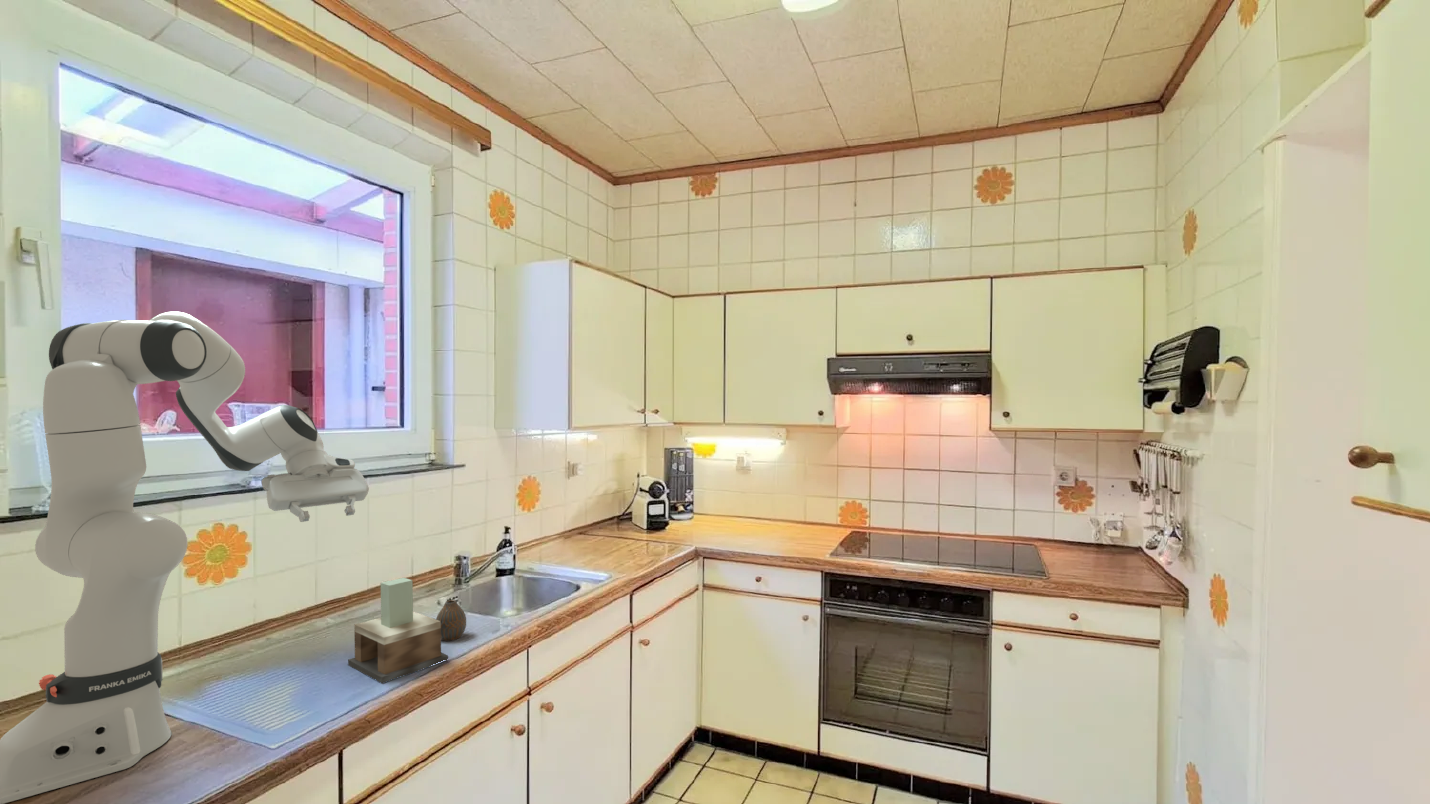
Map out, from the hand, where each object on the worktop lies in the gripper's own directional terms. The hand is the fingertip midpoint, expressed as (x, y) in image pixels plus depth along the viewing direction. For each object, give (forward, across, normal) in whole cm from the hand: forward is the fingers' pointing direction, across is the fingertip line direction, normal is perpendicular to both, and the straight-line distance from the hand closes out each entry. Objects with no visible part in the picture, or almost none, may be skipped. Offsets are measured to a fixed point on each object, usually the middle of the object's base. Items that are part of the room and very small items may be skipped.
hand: (328, 516), depth 143 cm
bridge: (+34, +7, +10) cm, 37 cm away
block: (+28, +7, +4) cm, 29 cm away
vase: (+31, +22, +14) cm, 40 cm away
